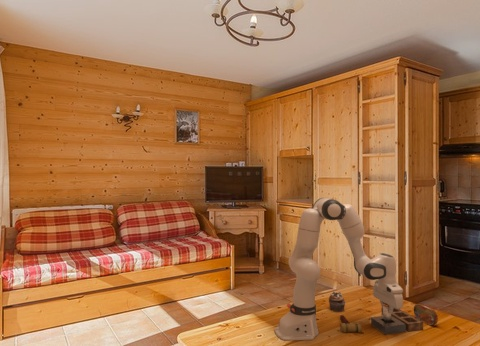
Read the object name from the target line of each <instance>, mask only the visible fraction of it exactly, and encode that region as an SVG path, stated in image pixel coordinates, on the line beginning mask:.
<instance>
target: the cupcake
mask: <svg viewBox="0 0 480 346" xmlns="http://www.w3.org/2000/svg"><path fill="white" fill-rule="evenodd" d="M344 298H345V297H344V296H343V294H342V292H336V291H333V292H332V293H331V294H330V295H329V298H328V303H329V309H330V310H331V311H332V312H336V313H342V312H344V311H345V306H346V301H345V300H344Z"/></svg>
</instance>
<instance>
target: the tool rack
mask: <svg viewBox="0 0 480 346" xmlns="http://www.w3.org/2000/svg"><path fill="white" fill-rule="evenodd" d="M381 316H383V309H382V307H381ZM391 316H393V317H394V318H396V319H398V320H399V321H401V322H403V323H404V324H406V332H408V333H409V332H417V331H423V330H424V322H422V321H420V320H418V319H417V318H416V316H414V315H413V316H412V315H411V314H409V313H408V312H405V311H404V310H402V309H395V308H394V309H393V313H392V314H391Z"/></svg>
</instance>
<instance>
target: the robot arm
mask: <svg viewBox="0 0 480 346" xmlns="http://www.w3.org/2000/svg"><path fill="white" fill-rule="evenodd" d="M324 220H328V221H337V222H338V224H339V226H340V229H341V232H342V233H343V235H344V237H345V238H346V241H347V243H348V245H349V248H350V251H351V254H352V256H353V268H354V270H355V271H356V273H358V274H360V275H362V276H363V277H364V278H366V279H368V280H371V281H373V280H374V284H373V289H372V290H373V291H372V295H373V297H374V298H376V299H378V300H379V302H380V305H381V308H382V309H383V303H386V304H388V305H389V307H390V309H388V313H390V314H392V313H393V309H394V308H395V309H400V310H402V309H403V307H404V296H403V293H404V289H403V287H402V286H400V285H399V284H398V282H397V278H396V274H397V263H396V259H395V258H396V257H394V256H393V255H391V254H388V253H383V252H382V253H381V252H380V253H379V254H378V255H377V256H375V257H374V258H370V257H368V255H367V254H366V253H365V250H364V247H363V244H362V241H361V239H362V238H363V237H364V235H365V233H366V231H365V228H364V224H363V222H362V219H361V217H360V215H359V213H358V212H357V210H356V208H355V207H354V206H353V205H352V204H350V203H343V204H342V203H341V202H340V201H338V200H336V199H333V198H331V197H321V198H319V199H317V200H316V201H315V202H314V203H313V205H312V206H311V207H310V208H305V209H303V211H302V213H301V215H300V218H299V222H298V229H297V236H296V241H295V245H294V248H293V251H292V254H291V255H290V256H289V258H288V267H289V268H290V270H291V272H293V273H294V274H295V277H296V279H295V280H296V281H295V283H294V287H293V289H292V291H293V292H292V294H293V297H292V300H293V302H292V304H291V303H287V304H286V307H287V308H288V309H289V311H288V312H286V313H285V314H284V315H283V316H281V318H280V319H279V322H278V326H276V327H275V326H274V333H276V334H277V335H276V334H275V335H276V336H277V337H278V338H279V339H280V340H282V341H310V340H311V341H313V340H314V339H315V338H316V337H317V336H318V335H319V329H318V325H317V324H318V323H317V317H316V315H317V306H316V288H317V287H316V286H317V282H318V280H319V278H320V276H321V271H322V270H321V268H320V266H319V264H318V263H317V261H315V260H314V259H313V254H314V252H315V250H316V249H317V248H318V246H319V239H320V233H321V231H320V230H321V226H322V225H321V224H322V223H323V221H324Z"/></svg>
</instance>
